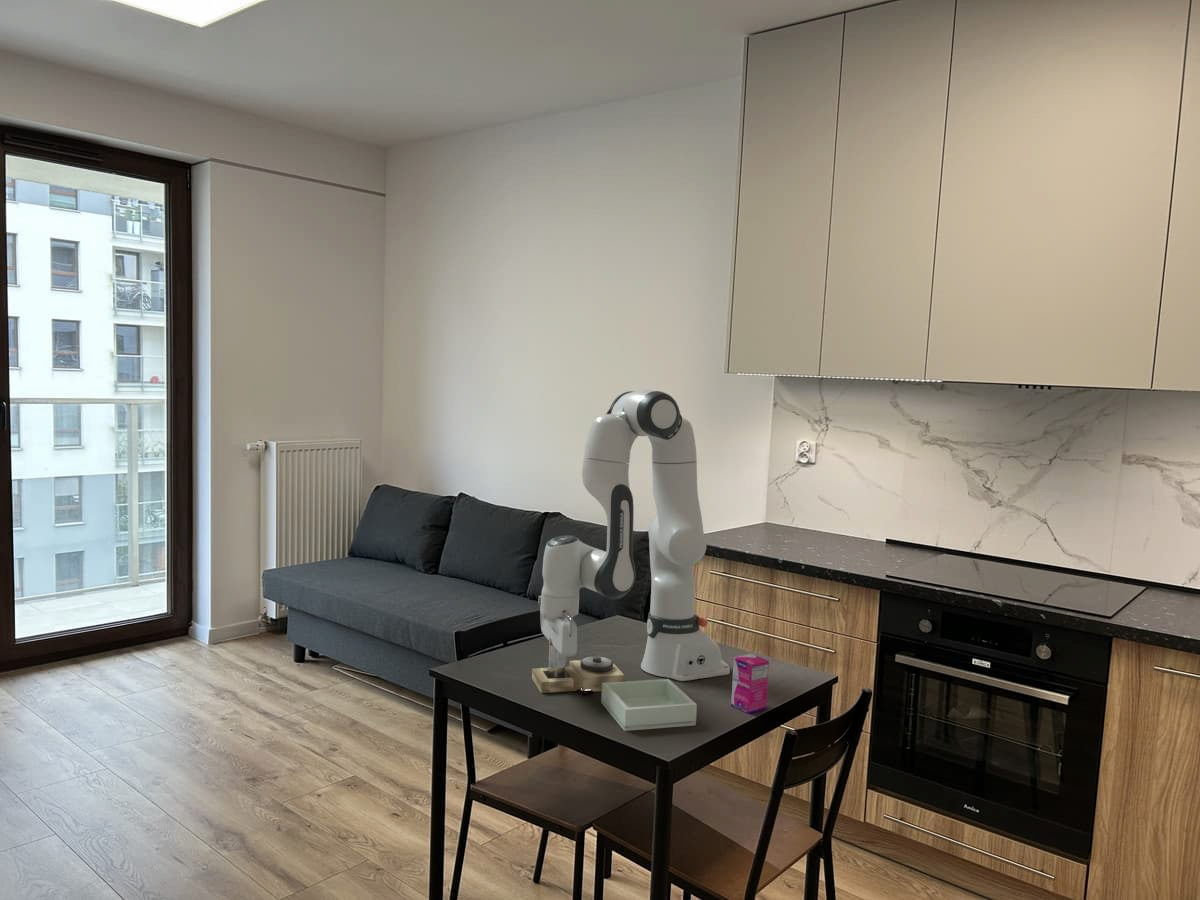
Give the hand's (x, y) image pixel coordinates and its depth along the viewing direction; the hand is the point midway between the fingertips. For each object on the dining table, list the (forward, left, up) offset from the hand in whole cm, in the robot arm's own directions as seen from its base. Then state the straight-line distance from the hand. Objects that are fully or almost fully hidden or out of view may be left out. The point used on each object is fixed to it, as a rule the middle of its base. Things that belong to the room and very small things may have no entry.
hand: (557, 663), depth 205 cm
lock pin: (0, 0, -5) cm, 5 cm away
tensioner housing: (-5, 0, -5) cm, 7 cm away
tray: (-15, +21, -5) cm, 26 cm away
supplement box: (-39, +22, -5) cm, 45 cm away
